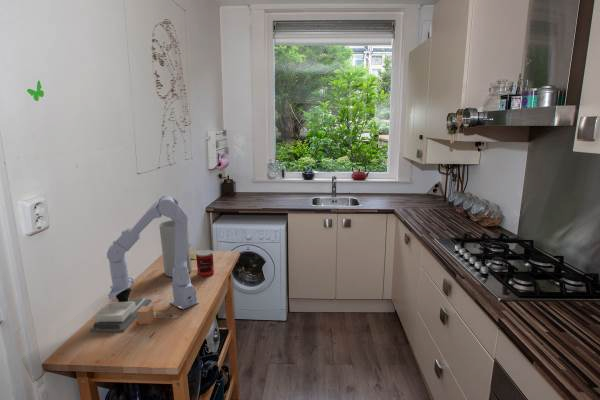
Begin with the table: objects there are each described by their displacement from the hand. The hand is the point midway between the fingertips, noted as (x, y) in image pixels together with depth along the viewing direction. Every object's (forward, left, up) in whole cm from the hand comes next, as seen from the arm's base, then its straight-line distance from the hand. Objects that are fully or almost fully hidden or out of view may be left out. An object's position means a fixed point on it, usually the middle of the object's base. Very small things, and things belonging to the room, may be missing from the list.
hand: (124, 307), depth 142 cm
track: (-1, +1, -2) cm, 3 cm away
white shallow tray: (-4, +4, -1) cm, 6 cm away
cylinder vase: (+20, -33, -3) cm, 39 cm away
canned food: (+8, -41, -3) cm, 42 cm away
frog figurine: (+36, -44, -3) cm, 57 cm away
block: (-12, -3, -2) cm, 13 cm away
